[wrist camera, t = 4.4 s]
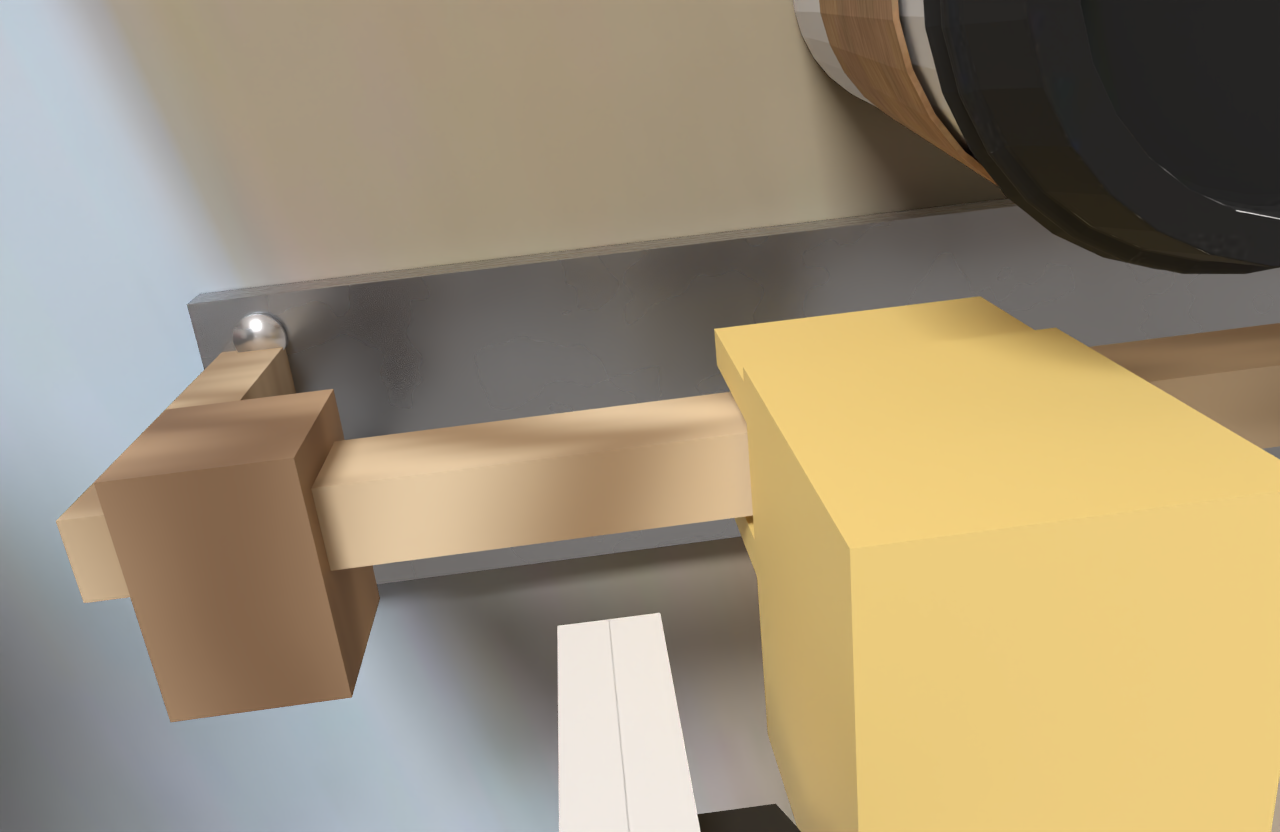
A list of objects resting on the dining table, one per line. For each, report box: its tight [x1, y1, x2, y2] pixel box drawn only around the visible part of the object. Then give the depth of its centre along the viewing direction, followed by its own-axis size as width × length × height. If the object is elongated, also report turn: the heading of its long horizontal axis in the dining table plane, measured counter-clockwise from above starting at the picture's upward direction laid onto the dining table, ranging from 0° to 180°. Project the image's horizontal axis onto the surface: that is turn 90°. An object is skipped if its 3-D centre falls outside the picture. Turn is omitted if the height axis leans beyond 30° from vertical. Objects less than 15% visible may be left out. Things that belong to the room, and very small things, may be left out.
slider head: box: [714, 296, 1280, 832], centre depth 19 cm, size 5×7×15 cm
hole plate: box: [187, 199, 1280, 584], centre depth 27 cm, size 30×8×1 cm, turn 96°
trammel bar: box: [56, 323, 1280, 722], centre depth 22 cm, size 29×5×10 cm, turn 96°
